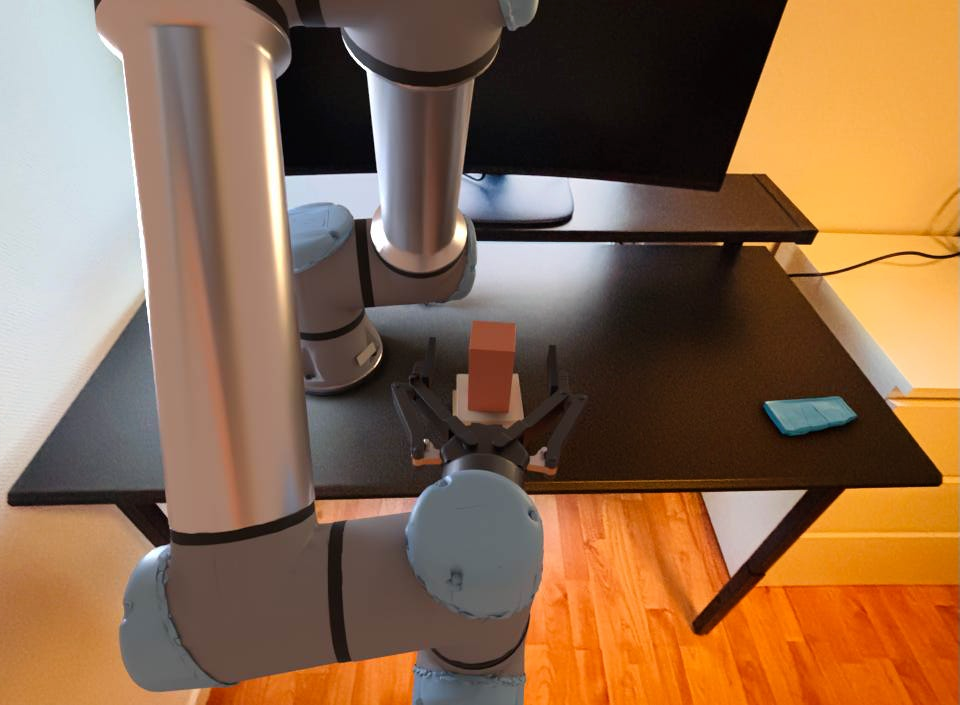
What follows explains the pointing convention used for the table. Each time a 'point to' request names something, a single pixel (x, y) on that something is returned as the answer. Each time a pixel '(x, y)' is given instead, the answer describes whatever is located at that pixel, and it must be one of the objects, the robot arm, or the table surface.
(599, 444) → the table surface
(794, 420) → the sponge
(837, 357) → the table surface
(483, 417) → the slab stack
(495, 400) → the pillar block
